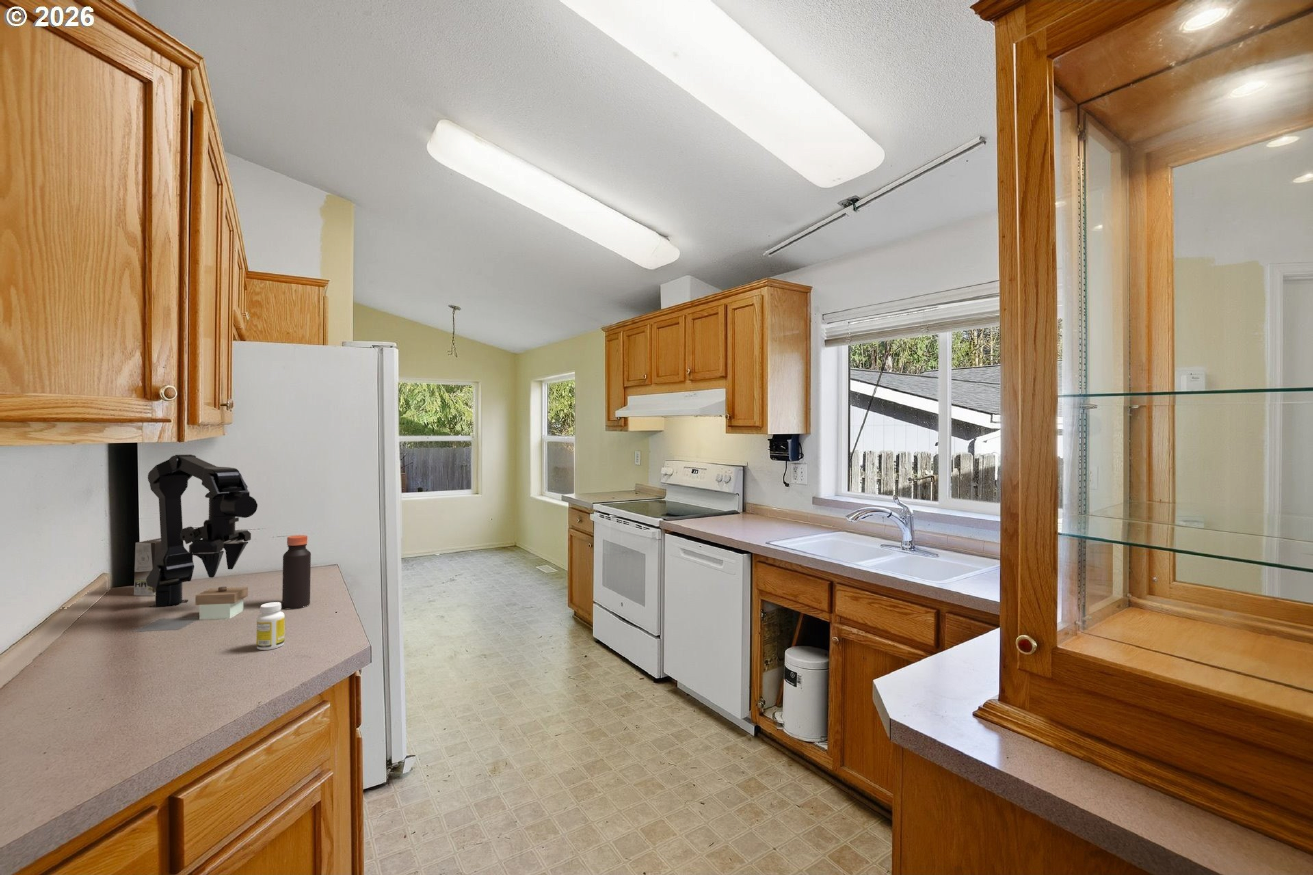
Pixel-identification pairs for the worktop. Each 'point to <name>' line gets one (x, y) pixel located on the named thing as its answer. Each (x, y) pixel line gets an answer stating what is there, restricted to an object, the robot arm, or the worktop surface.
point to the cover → (221, 595)
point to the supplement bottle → (270, 626)
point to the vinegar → (296, 573)
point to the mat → (167, 624)
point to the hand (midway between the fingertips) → (221, 573)
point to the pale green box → (220, 611)
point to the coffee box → (145, 565)
